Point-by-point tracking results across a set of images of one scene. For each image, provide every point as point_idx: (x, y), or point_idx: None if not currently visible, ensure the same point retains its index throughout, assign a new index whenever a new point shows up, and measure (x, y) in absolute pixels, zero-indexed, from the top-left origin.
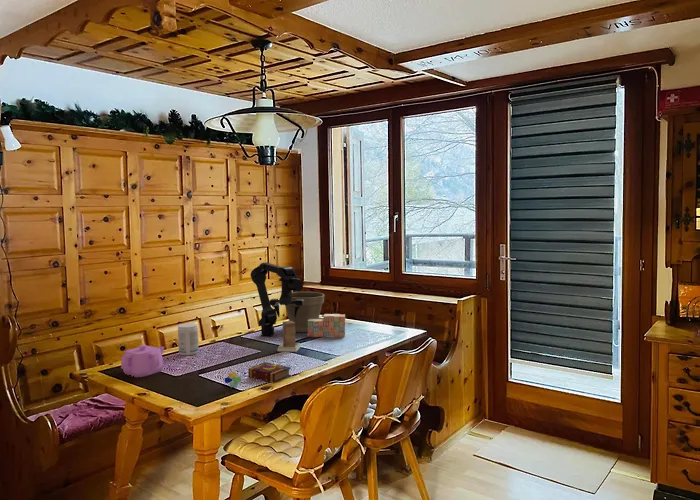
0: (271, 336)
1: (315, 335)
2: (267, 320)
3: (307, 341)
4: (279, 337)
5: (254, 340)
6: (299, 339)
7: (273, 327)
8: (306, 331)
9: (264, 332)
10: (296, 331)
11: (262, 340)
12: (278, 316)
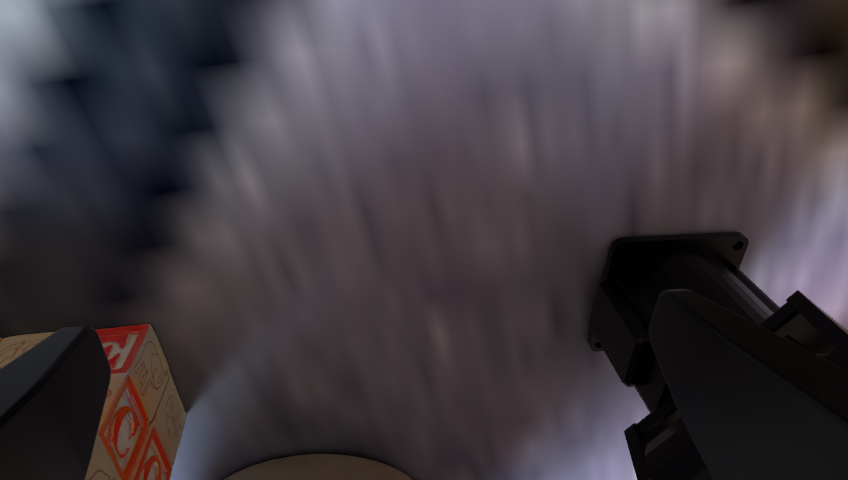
0: (613, 243)
1: (34, 344)
2: (829, 357)
3: (11, 74)
4: (508, 235)
5: (839, 39)
6: (202, 176)
7: (633, 370)
8: (245, 470)
9: (725, 272)
10: (360, 457)
11: (729, 53)
12: (696, 304)
